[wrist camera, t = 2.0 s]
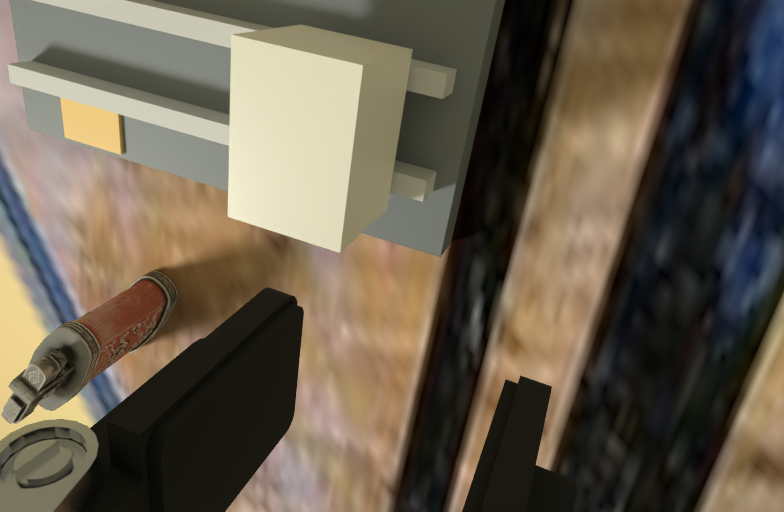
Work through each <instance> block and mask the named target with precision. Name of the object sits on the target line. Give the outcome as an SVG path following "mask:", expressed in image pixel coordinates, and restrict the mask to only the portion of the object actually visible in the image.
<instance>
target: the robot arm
mask: <svg viewBox="0 0 784 512" xmlns="http://www.w3.org/2000/svg"><path fill="white" fill-rule="evenodd" d="M303 316H304V311H303V308H302V307H300V306H297V300H296V298H295V297H294V296H292V295H289V294H286V293H283V292H280V291H277V290H275V289H272V288H265V289H263V290H262V291H261V292H260V293H258V294H257V295H256V296H255V297H254V298H252V299H251V300H250V301H249V302H248V303H246V304H245V305H244V306H243V307H242V308H240V309H239V310H238V311H237V312H236V313H234V314H233V315H232V316H231V317H230V318H228V319H227V320H226V321H225V322H224V323H222V324H221V325H220V326H219V327H218V328H216V329H215V330H214V331H213V332H212V333H210V334H209V335H208V336H207V337H206V338H203V339H199V340H198V341H196V342H194V343H193V344H192V345H190V346H189V347H188V348H187V349H186V350H184V351H183V352H182V353H181V354H179V355H178V356H177V357H176V358H175V359H173V360H172V361H171V362H170V363H169V364H167V365H166V366H165V367H164V368H163V369H161V370H160V371H159V372H158V373H156V374H155V375H154V376H153V377H152V378H150V379H149V380H148V381H147V382H146V383H144V384H143V385H142V386H141V387H139V388H138V389H137V390H136V391H135V392H133V393H132V394H131V395H130V396H129V397H127V398H126V399H125V400H124V401H123V402H121V403H120V404H119V405H118V406H116V407H115V408H114V409H113V410H112V411H110V412H109V413H108V414H107V415H106V416H104V417H103V418H102V419H101V420H99V421H98V422H97V423H96V424H95V425H93V426H92V427H91V428H89V427H88V426H86V425H83V424H81V423H79V422H77V421H71V420H64V419H56V420H45V421H41V422H37V423H33V424H30V425H27V426H24V427H22V428H20V429H18V430H16V431H14V432H12V433H10V434H9V435H7V436H6V437H5V438H3V439H2V440H1V441H0V512H225V511H226V510H227V508H228V507H229V506H230V505H231V503H232V502H233V501H234V499H235V498H236V497H237V495H238V494H239V493H240V492H241V490H242V489H243V488H244V486H245V485H246V484H247V483H248V481H249V480H250V479H251V477H252V476H253V475H254V473H255V472H256V471H257V470H258V468H259V467H260V466H261V464H262V463H263V462H264V460H265V459H266V458H267V457H268V455H269V454H270V453H271V451H272V450H273V449H274V448H275V446H276V445H277V444H278V442H279V441H280V440H281V438H282V437H283V436H284V435H285V433H286V432H287V430H288V429H289V427H290V425H291V422H292V420H293V417H294V411H295V400H296V389H297V379H298V368H299V358H300V347H301V337H302V326H303ZM551 388H552V387H551V386H549V385H546V384H543V383H540V382H537V381H534V380H531V379H529V378H526V377H523V376H520V379H519V382H518V384H517V383H514V382H511V381H509V380H505V383H504V386H503V389H502V393H501V396H500V399H499V402H498V405H497V408H496V411H495V414H494V417H493V420H492V423H491V426H490V429H489V432H488V435H487V438H486V441H485V444H484V447H483V450H482V453H481V456H480V459H479V462H478V465H477V468H476V471H475V474H474V478H473V481H472V484H471V487H470V490H469V493H468V496H467V499H466V502H465V505H464V508H463V511H462V512H573V506H574V498H575V487H576V483H575V480H573V479H570V478H567V477H565V476H562V475H560V474H557V473H554V472H552V471H549V470H547V469H544V468H542V467H539V466H536V460H537V455H538V451H539V446H540V441H541V436H542V432H543V427H544V422H545V417H546V413H547V408H548V403H549V398H550V394H551Z"/></svg>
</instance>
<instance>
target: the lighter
mask: <svg viewBox="0 0 784 512" xmlns="http://www.w3.org/2000/svg"><path fill="white" fill-rule="evenodd" d="M177 298H178V293H177V289H176V287H175V285H174V284H173V282H172V281H171V280H170V279H169V278H168V277H167V276H166V275H164V274H163V273H161V272H158V271H152V272H149V273H147V274H146V275H144V276H143V277H141V278H139V279H138V280H137V281H136V282H135V283H133V284H132V285H131V286H130V287H128V288H127V290H126V291H124V292H122V293H121V294H119V295H117V296H116V297H114V298H113V299H111V300H109V301H108V302H106V303H104V304H103V305H101V306H100V307H98V308H96V309H95V310H93V311H91V312H88V313H87V314H85V315H83V316H82V317H80V318H78V319H77V320H75V321H69V322H67V323H65V324H63V325H62V326H60V327H58V328H57V329H56V330H54V331H53V332H52V333H51V334H50V335H48V336H47V337H46V338H45V339H44V340H43V341H42V343H41V344H40V345H39V347H38V348H37V349H36V350H35V352H34V354H33V356H32V359H31V361H30V363H29V365H28V368H27V369H26V370H24V371H23V372H22V373H21V374H20V375H19V376H17V377H16V378H15V379H14V380H13V381H12V382H11V383H10V385H9V388H10V389H12V390H13V393H12V395H11V396H10V398H9V399H8V401H7V403H6V405H5V406H4V408H3V412H2V417H3V418H4V419H5V420H6V421H7V422H8V423H10V424H12V423H14V424H17V423H18V422H20V421H21V420H22V419H24V418H25V417H27V416H28V415H29V414H31V413H32V412H33V411H34V409H35V407H36V406H37V404H39V405H40V406H41V407H43V408H45V409H47V410H51V411H53V410H56V409H57V408H59V407H60V406H62V405H63V404H65V403H66V402H68V401H69V400H70V399H71V398H73V397H74V396H76V395H77V394H78V393H79V392H80V391H81V390H82V388H83V387H84V386H85V385H86V384H87V383H88V382H89V381H90V380H92V379H93V378H95V377H96V376H97V375H99V374H100V373H101V372H103V371H104V370H105V369H107V368H108V367H109V366H111V365H112V364H113V363H115V362H116V361H118V360H119V359H120V358H122V357H123V356H124V355H126V354H127V353H132V352H134V351H135V350H137V349H138V348H140V347H141V346H143V345H144V344H145V343H147V342H148V341H149V340H151V339H152V338H153V337H154V336H155V335H156V334H157V333H158V332H159V331H160V330H161V329H162V328H163V326H164V325H165V323H166V322H167V320H168V319H169V317H170V315H171V313H172V311H173V309H174V306H175V304H176V301H177Z"/></svg>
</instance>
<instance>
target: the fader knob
mask: <svg viewBox="0 0 784 512" xmlns="http://www.w3.org/2000/svg"><path fill="white" fill-rule="evenodd" d="M412 51H413V49H410V48H405V47H401V46H396V45H392V44H387V43H383V42H378V41H374V40H369V39H364V38H360V37H355V36H351V35H346V34H342V33H337V32H333V31H328V30H324V29H319V28H315V27H310V26H306V25H294V26H287V27H280V28H273V29H266V30H259V31H252V32H245V33H238V34H232V35H231V72H230V125H229V177H228V217H230V218H233V219H237V220H240V221H243V222H246V223H249V224H252V225H255V226H258V227H261V228H264V229H268V230H271V231H274V232H277V233H280V234H283V235H286V236H289V237H292V238H295V239H298V240H302V241H305V242H308V243H311V244H314V245H317V246H320V247H323V248H326V249H329V250H333V251H336V252H339V253H340V252H342V251H343V250H344V249H345V248H346V247H347V246H348V245H349V244H350V243H351V242H352V241H353V240H354V239H356V238H357V237H358V236H359V235H360V234H361V233H362V232H363V231H364V230H365V229H366V228H367V227H368V226H370V225H371V224H372V223H373V222H374V221H375V220H376V219H377V218H378V217H379V216H380V215H381V214H382V213H384V212H385V211H386V210H387V207H388V201H389V195H390V188H391V182H392V176H393V170H394V163H395V157H396V151H397V145H398V138H399V132H400V126H401V120H402V113H403V107H404V101H405V95H406V88H407V82H408V76H409V70H410V63H411V57H412Z"/></svg>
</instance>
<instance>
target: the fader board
mask: <svg viewBox="0 0 784 512" xmlns="http://www.w3.org/2000/svg"><path fill="white" fill-rule="evenodd" d="M504 3H505V0H10V6H11V13H12V20H13V27H14V33H15V40H16V47H17V54H18V61H19V63H12V64H8V71H9V77H10V83H13V84H16V85H20V86H22V88H23V95H24V102H25V108H26V115H27V122H28V129H29V130H32V131H36V132H39V133H42V134H45V135H48V136H52V137H55V138H58V139H61V140H65V141H68V142H71V143H74V144H77V145H81V146H84V147H87V148H90V149H93V150H97V151H100V152H103V153H106V154H110V155H113V156H116V157H119V158H122V159H126V160H129V161H132V162H135V163H139V164H142V165H145V166H148V167H151V168H155V169H158V170H161V171H164V172H168V173H171V174H174V175H177V176H180V177H184V178H187V179H190V180H193V181H197V182H200V183H203V184H206V185H209V186H213V187H216V188H219V189H222V190H225V191H228V177H229V125H230V72H231V35H232V34H238V33H245V32H252V31H259V30H266V29H273V28H280V27H287V26H294V25H306V26H310V27H315V28H319V29H324V30H328V31H333V32H337V33H342V34H346V35H351V36H355V37H360V38H364V39H369V40H374V41H378V42H383V43H387V44H392V45H396V46H401V47H405V48H410V49H413V51H412V57H411V63H410V70H409V76H408V82H407V88H406V95H405V101H404V107H403V113H402V120H401V126H400V132H399V138H398V145H397V151H396V157H395V163H394V170H393V176H392V182H391V188H390V195H389V201H388V207H387V210H386V211H385V212H384V213H382V214H381V215H380V216H379V217H378V218H377V219H376V220H375V221H374V222H373V223H372V224H371V225H370V226H368V227H367V228H366V229H365V230H364V231H363V232H362V233H364V234H367V235H370V236H374V237H377V238H380V239H383V240H386V241H390V242H393V243H396V244H399V245H403V246H406V247H409V248H412V249H415V250H419V251H422V252H425V253H428V254H432V255H435V256H438V257H441V256H442V254H443V253H444V251H445V250H446V248H447V247H448V246H449V244H450V243H451V241H452V236H453V232H454V227H455V223H456V218H457V214H458V209H459V205H460V200H461V196H462V191H463V187H464V182H465V178H466V173H467V169H468V164H469V160H470V155H471V151H472V146H473V142H474V137H475V133H476V129H477V124H478V120H479V115H480V111H481V106H482V102H483V97H484V93H485V88H486V84H487V79H488V75H489V70H490V66H491V61H492V57H493V52H494V48H495V43H496V39H497V34H498V30H499V25H500V21H501V16H502V12H503V7H504Z"/></svg>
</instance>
